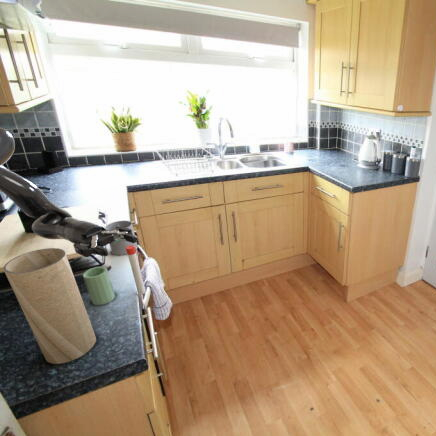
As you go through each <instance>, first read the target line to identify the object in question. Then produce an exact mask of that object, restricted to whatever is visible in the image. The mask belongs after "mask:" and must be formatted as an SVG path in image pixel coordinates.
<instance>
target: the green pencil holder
mask: <svg viewBox="0 0 436 436" xmlns="http://www.w3.org/2000/svg"><path fill="white" fill-rule="evenodd" d="M82 278H83V281H84V283H85V286H86V289H87V292H88V295H89V298H90V301H91V303H92V304H93V305H94V306H101V305H102V306H103V305H105V304H108V303H110V302H112V301H113V300H114V299H115V296H116V294H115V290H114V287H113V285H112V281H111V277H110V274H109V272H108V268H107V267H106V266H94V267H91V268H89V269H87V270H85V271H84V272H83V274H82Z"/></svg>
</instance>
